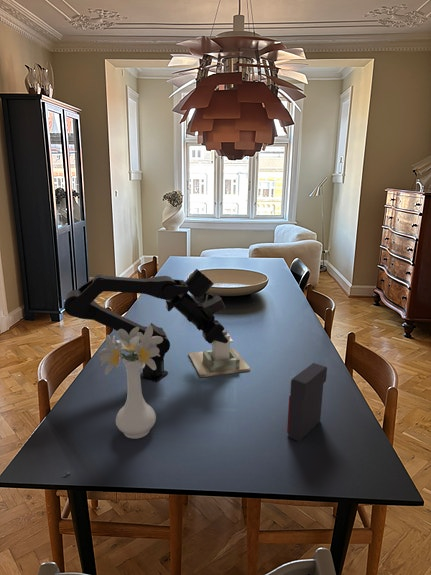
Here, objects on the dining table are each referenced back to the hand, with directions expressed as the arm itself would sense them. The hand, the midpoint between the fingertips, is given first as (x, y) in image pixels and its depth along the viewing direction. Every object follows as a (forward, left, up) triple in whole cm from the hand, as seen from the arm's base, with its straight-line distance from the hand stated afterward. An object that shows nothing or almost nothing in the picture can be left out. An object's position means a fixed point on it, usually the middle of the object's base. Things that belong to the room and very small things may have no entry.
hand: (225, 339), depth 129 cm
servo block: (-1, +1, -7) cm, 7 cm away
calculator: (-20, -32, -9) cm, 39 cm away
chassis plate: (+1, +3, -9) cm, 10 cm away
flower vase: (-40, +3, -9) cm, 41 cm away
